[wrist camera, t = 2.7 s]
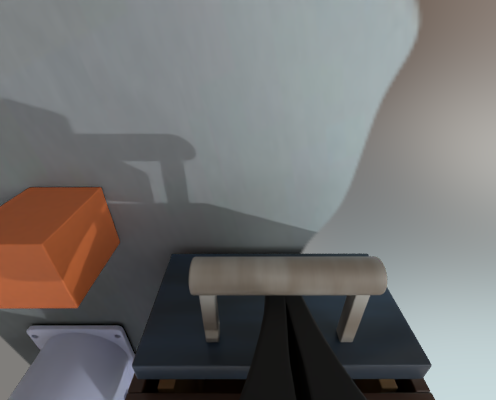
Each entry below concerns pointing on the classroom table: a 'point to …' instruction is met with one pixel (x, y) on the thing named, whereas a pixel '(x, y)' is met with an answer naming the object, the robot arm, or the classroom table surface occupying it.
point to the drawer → (251, 314)
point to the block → (53, 246)
